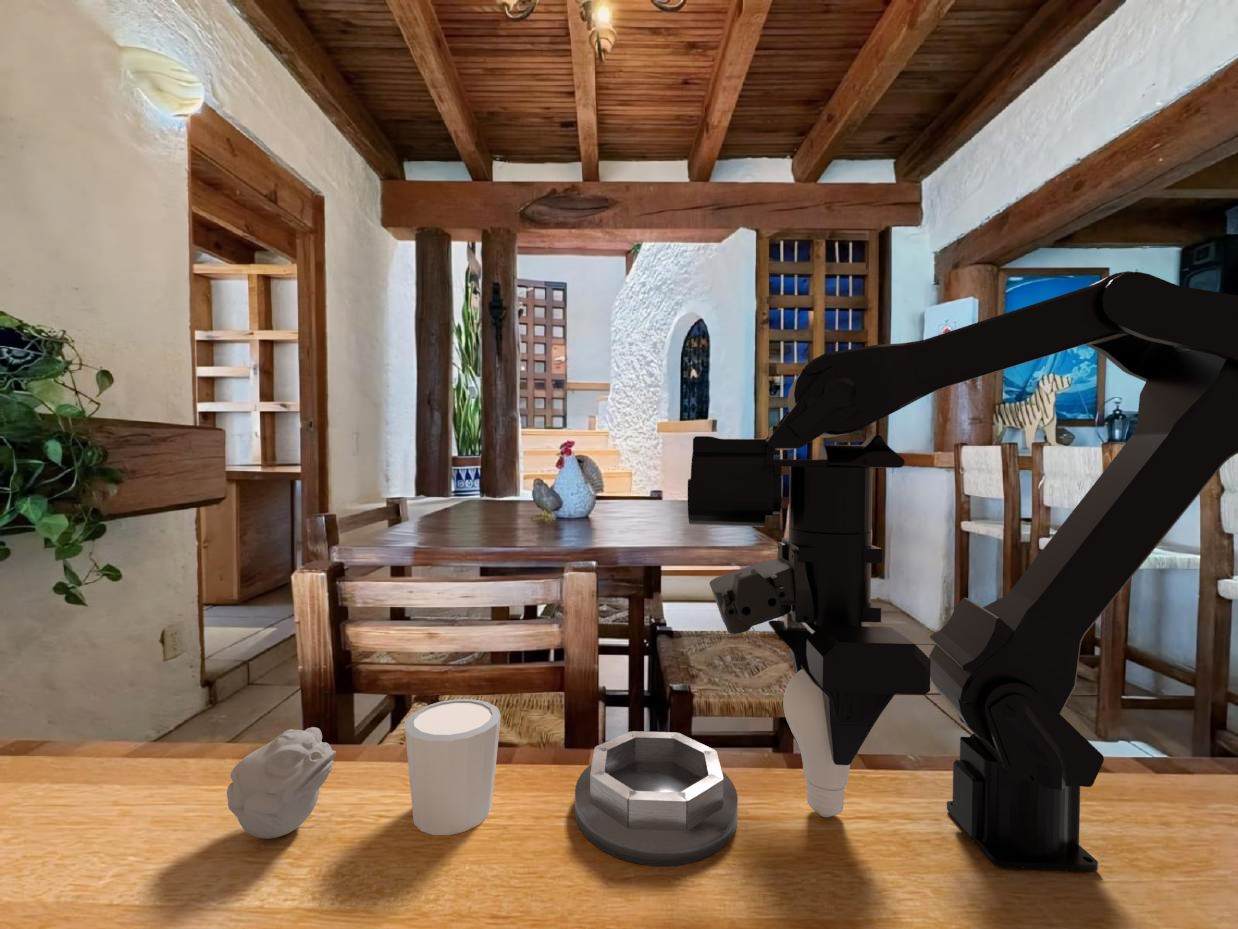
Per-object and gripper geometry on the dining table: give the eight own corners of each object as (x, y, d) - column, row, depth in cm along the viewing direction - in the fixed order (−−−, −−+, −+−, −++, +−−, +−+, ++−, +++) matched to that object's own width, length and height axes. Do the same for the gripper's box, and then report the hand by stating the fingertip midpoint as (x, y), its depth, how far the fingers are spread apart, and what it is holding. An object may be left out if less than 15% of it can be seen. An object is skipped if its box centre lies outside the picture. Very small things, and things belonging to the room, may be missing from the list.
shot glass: (475, 848, 38) (476, 744, 38) (383, 834, 40) (383, 733, 40) (514, 790, 45) (514, 701, 45) (434, 779, 47) (434, 693, 46)
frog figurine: (301, 866, 37) (302, 758, 36) (200, 858, 37) (200, 751, 37) (354, 808, 43) (355, 715, 42) (266, 802, 43) (266, 710, 43)
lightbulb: (794, 841, 39) (796, 682, 39) (773, 789, 46) (775, 651, 45) (884, 844, 39) (887, 683, 39) (851, 791, 45) (853, 653, 45)
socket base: (724, 768, 49) (725, 727, 49) (751, 869, 37) (752, 815, 37) (583, 763, 49) (583, 723, 49) (564, 862, 37) (565, 808, 37)
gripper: (704, 515, 52) (703, 687, 52) (740, 547, 33) (736, 816, 33) (830, 516, 51) (827, 690, 51) (937, 550, 33) (932, 823, 33)
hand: (826, 740), depth 42 cm, fingers closed on lightbulb, 6 cm apart
